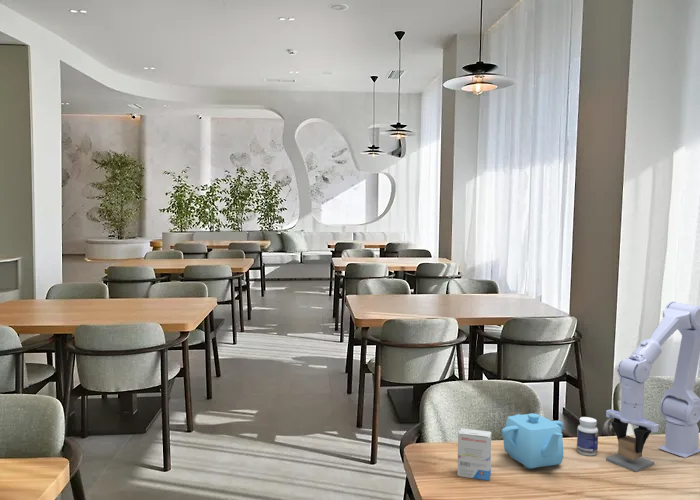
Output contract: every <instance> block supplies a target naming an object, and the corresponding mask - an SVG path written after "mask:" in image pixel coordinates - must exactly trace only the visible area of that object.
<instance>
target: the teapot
mask: <svg viewBox="0 0 700 500" xmlns="http://www.w3.org/2000/svg"><path fill="white" fill-rule="evenodd" d="M564 425H565V424H564V422H563V421H562V420H561V421H560V420H550V419H549V418H546V417H544V416H542V415H540V414H538V413H535V412H534V413H533V412H532V413H526V414H519V413H518V414H517V413H516V414H515V415H509V416H507V418H506V422H505V427H503V428H502V429H501V435H502V437H503V448H504V452H505V453H506V454H507V455H509V456H510V457H511V459H513V460H516V461H517V462H519V463H520V464H522V465H524V468H525V469H527V470H528V469H529V470H534V469H536V468H541V467H542V468H543V467H553V466H555V465H560V464H562V462H563V459H564V439H563V435H564V434H563V433H562V432H563V430H564Z"/></svg>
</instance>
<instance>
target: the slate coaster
mask: <svg viewBox="0 0 700 500" xmlns="http://www.w3.org/2000/svg"><path fill="white" fill-rule="evenodd" d="M605 461H607V462H609V463H612V464H614V465H617V466H620V467H622V468H624V467H625V469H627V470H630V471H632V472H634V471H635V473H637V472H640V471H641V470H645V469H647V468H650V467H651V466H655V461H653V460H651V459H648V458H645V457H643V456H642V457H639V458H637V459H634V460H632V459H629V458H627V457H624V456H621V455H619V454H618V452H617V453H615V454H613V455H610V456H607V457H606V458H605ZM649 466H650V467H649ZM646 467H647V468H646ZM644 468H645V469H644Z"/></svg>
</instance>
